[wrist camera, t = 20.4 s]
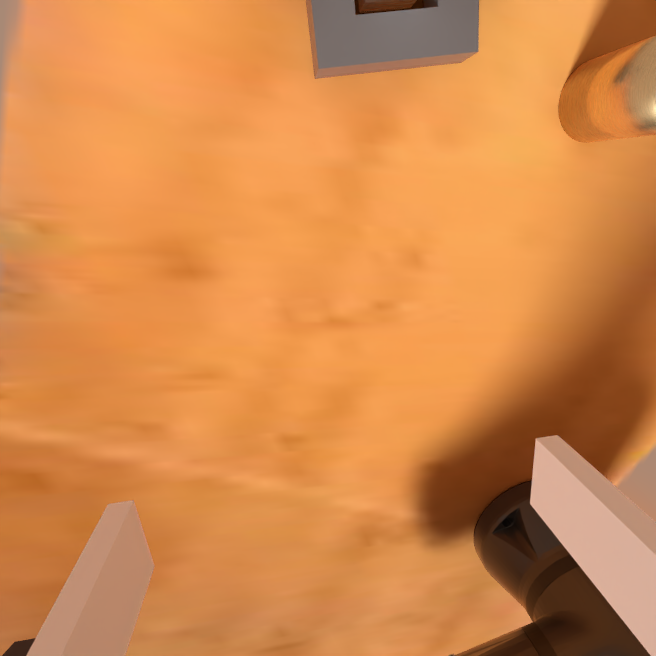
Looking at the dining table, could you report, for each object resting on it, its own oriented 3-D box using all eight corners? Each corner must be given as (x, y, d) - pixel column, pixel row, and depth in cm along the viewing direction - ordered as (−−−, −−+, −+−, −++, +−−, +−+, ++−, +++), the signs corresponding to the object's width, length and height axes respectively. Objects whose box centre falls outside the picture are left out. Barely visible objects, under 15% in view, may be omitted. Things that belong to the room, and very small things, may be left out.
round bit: (634, 53, 34) (768, 7, 25) (623, 137, 37) (742, 123, 27) (561, 62, 34) (670, 17, 25) (555, 146, 36) (652, 135, 27)
